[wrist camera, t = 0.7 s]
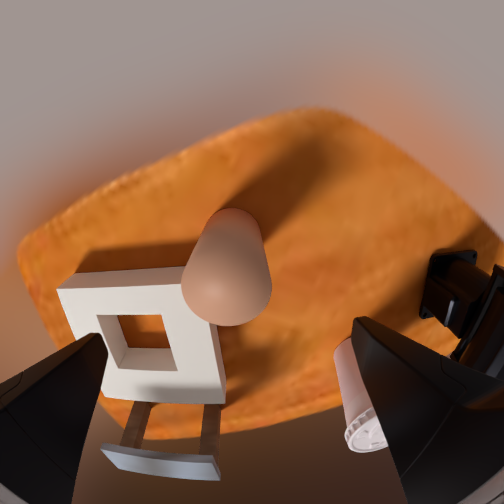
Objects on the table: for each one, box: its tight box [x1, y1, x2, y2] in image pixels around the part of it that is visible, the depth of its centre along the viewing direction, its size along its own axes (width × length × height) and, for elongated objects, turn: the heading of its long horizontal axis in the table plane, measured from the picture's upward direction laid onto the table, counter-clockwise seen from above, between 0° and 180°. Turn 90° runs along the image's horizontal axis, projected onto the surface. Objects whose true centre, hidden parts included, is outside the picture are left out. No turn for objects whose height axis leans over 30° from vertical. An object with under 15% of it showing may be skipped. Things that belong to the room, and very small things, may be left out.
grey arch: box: [101, 401, 221, 480], centre depth 21 cm, size 10×4×9 cm, turn 94°
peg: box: [181, 208, 272, 326], centre depth 16 cm, size 4×4×8 cm
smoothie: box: [334, 338, 388, 452], centre depth 17 cm, size 6×6×14 cm
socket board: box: [57, 266, 226, 404], centre depth 21 cm, size 12×12×3 cm
